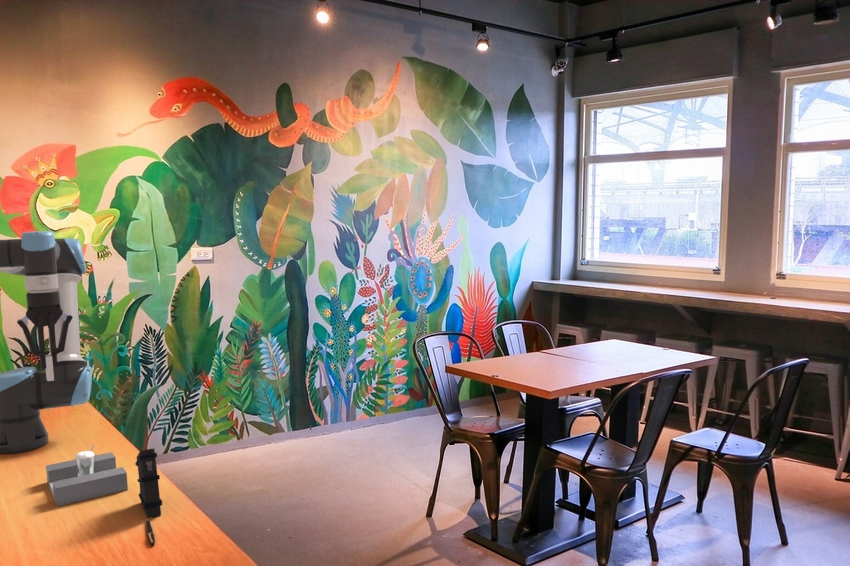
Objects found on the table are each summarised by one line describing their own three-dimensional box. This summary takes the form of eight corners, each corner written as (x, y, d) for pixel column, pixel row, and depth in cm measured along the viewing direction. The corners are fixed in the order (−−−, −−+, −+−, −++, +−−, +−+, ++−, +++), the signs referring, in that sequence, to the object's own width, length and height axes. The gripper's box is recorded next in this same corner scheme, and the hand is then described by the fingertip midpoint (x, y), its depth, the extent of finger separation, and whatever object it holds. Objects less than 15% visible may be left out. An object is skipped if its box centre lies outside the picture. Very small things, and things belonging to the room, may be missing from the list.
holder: (47, 482, 183) (45, 465, 182) (112, 467, 192) (111, 452, 191) (57, 506, 167) (55, 488, 167) (127, 489, 176) (126, 472, 176)
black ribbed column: (147, 517, 156) (138, 450, 160) (141, 521, 167) (134, 459, 171) (164, 513, 158) (156, 447, 162) (158, 518, 169) (150, 456, 173)
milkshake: (103, 482, 182) (100, 445, 181) (87, 490, 177) (84, 452, 176) (89, 480, 183) (86, 443, 182) (73, 488, 178) (69, 450, 177)
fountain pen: (144, 522, 158) (144, 515, 158) (150, 520, 159) (149, 514, 159) (150, 548, 145) (149, 542, 145) (156, 547, 146) (156, 540, 146)
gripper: (14, 294, 175) (23, 386, 177) (72, 289, 182) (79, 378, 184) (12, 292, 181) (20, 381, 183) (68, 287, 188) (75, 373, 191)
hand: (50, 379), depth 184 cm, fingers closed
